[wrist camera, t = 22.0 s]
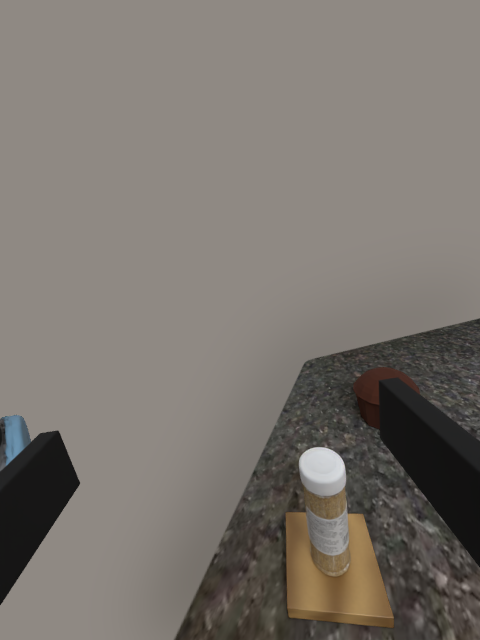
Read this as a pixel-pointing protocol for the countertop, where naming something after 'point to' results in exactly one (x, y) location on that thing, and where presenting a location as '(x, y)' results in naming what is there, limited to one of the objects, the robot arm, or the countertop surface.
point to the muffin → (375, 392)
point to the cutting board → (335, 579)
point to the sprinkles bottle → (326, 509)
